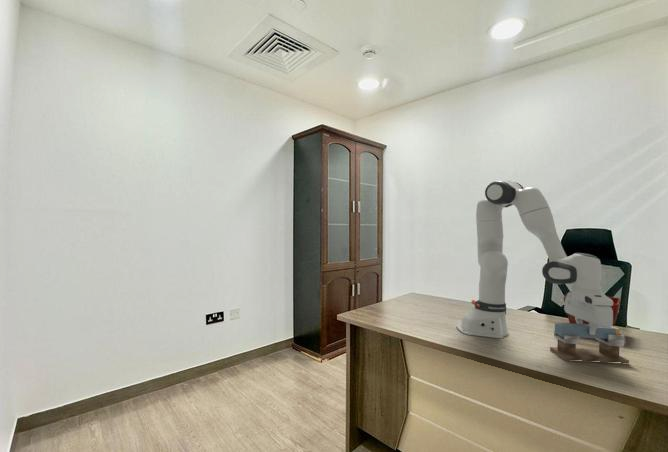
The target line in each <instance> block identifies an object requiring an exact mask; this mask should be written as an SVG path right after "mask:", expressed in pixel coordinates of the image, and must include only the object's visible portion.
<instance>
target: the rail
mask: <svg viewBox="0 0 668 452" xmlns="http://www.w3.org/2000/svg"><path fill="white" fill-rule="evenodd" d="M589 328H590V325H589V324H571V323H570V322H569V323H566V322H555V323H554V330H555V333H556V334H558V335H560V336H561V337H564V335H566V336H579V337H580V339H581V338H584V339H585V338H586V339H595V338H599V339H608V334H610V335H620V334H621V333H620V330H621V328H618V327H616V326H615V325H614V326H611V327H610V328H605V327H599V326H598V328H597V329H596V330H595V335H591V334H589V333H588V332H587V329H589Z"/></svg>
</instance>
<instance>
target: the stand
mask: <svg viewBox="0 0 668 452" xmlns="http://www.w3.org/2000/svg"><path fill="white" fill-rule="evenodd" d="M553 337H554V338H555V339H556V340H557V347H555V346H549V347H550V348H549V351H550V352H551V351H552V352H551V353H553V354H554V353H555V354H554V355H556V356H557V355H558V356H557V357H559V356H560V357H561V358H560V357H559V358H560V359H562V358H563V359H564V360H563V359H562V360H563V361H565V360H582V361H600V362H621V363H629V364H630V360H629V359H628V358H625V357H623V356H621V355H620V347H624V346H625V345H626V335H625V334H623V333H620V335H610V334H608V339H599V338H594V339H595V340H597V342H599V343H598V344H599V345H598V346H599V347H598V348H599V349H596V348H595V349H593V348H592V349H591V348H578V347H576V345H580V342H581V341H580V339H581V338H580V337H579V336H566V335H564V337H561V336H560V335H558V334H556V333H555V329H554V330H553Z"/></svg>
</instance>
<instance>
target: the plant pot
mask: <svg viewBox="0 0 668 452" xmlns="http://www.w3.org/2000/svg"><path fill="white" fill-rule="evenodd" d="M566 296H567V294H565V295H564V296H563V303H564V304H565V298H566ZM607 297H608V298H610V299H611V300H613V306H610V307H611V308H612V310H613V325H612V326H614V327H615V325H616V322H617V317H618V315H619V314H618V313H619V310H620V305H621V300H622V299H621V298H620V297H613V296H607ZM566 316H567V318H568V319H567V320H568V321H569V323H571V324H577V323H576V320H575V316H573V315H571V314H568V313H566ZM582 322H583V324H589V322H587V321H585V320H582Z"/></svg>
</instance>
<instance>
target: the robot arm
mask: <svg viewBox="0 0 668 452" xmlns="http://www.w3.org/2000/svg"><path fill="white" fill-rule="evenodd" d="M484 195H485V198H483V199H480V200H478V202H477V205H476V214H475V216H476V217H475V218H476V219H475V221H476V233H477V234H476V236H477V237H476V238H477V263H478V265H479V266H480V272H479V282H478V300H474V299H472V300H471V304H472V305H474V308H472V309H470V310H469V311H467V312H466V313H464V314H463V315H462V317H461V322H460V323H457V324H456V329H457V330H458V331H459V332H461V333H463V334H465V335H469V336H478V337H484V338H485V337H486V338H494V339H495V338H496V339H503V338H505V337H506V336H509V334H510V332H509V330H508V324H507V318H506V314H507V303H506V281H507V275H508V265H509V262H508V259H507V256H506V255H505V254H504V253H503V251H504V250H503V249H504V248H503V247H504V243H503V242H504V227H503V215H502V214H503V213H502V211H503V209H504V208H509V207H512V206H513V205H514V206H515V208H516V210H517V211H518V215H519V217H520V219H521V222H522V224H523V226H524V227H525V229H526V231H528V232H529V233H530V234H532V235H534V236H535V237H536V238H538V240H539V241H540V242H541V244H542V246H543V248H544V251H545V253H546V255H547V258H548V262H546V263H545V264H544V266H543V267H542V269H541V270H542V271H541V272H542V276H543V278H544V279H545V280H546V281H547V282H549V283H550V284H554V285H566V284H569V285H571V290H569V291H568V292H567V293H566V295H567V296H566V298H565V303H564V306H563V307H564V308H563V309H564V312H565V313H566V314H567V313H568V314H571V315H573V316H575V320H576V323H577V324H583V322H582V320H585V321H587V322H589V325H590V328H589V329H587V332H588V333H589V334H591V335H595V330H596V329H597V328H598V326H599V327H605V328H610V327H611V326H612V325H613V310H612V308H611V307H610V306H613V300H611V299H610V298H608V297H609V296H607V295H605V293H604V292H603V291H602V290H603V289H602V288H603V287H602V285H601V282H602V279H603V275H602V274H603V271H602V269H603V268H602V263H601V259H600V258H598V256H597V255H596V256H595V255H593V254H590V253H583V252H575V253H573V254H571V255H569V256H568V255H567V253H566V251H565V250H564V247H563V245H562V242H561V240H560V238H559V236H558V233H557V229H556V225H555V220H554V215H553V213H552V210H551V208H550V206H549V204H548V201H547V200H546V198H545V196H544V194H543V193H542V191H541V190H540V189H539V188H537V187H534V186H528V187H523V185H521V184H520V183H518V182H516V181H511V180H495V181H492V182H490V183H489V184H488V185H487V186H486V188H485V191H484Z"/></svg>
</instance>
